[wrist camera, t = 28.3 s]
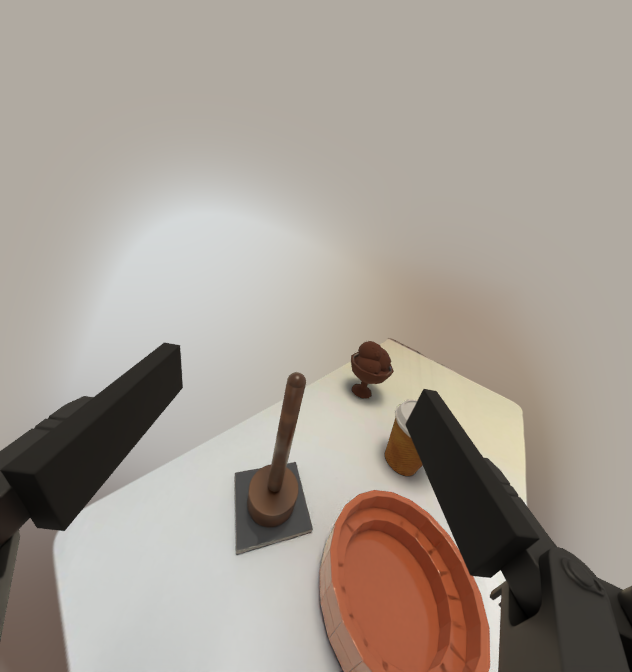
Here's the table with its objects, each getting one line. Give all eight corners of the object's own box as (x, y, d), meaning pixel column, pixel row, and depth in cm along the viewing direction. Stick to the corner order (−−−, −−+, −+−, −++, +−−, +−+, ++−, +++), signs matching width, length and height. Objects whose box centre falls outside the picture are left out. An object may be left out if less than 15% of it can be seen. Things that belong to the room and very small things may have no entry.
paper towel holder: (248, 534, 30) (269, 400, 20) (245, 480, 35) (260, 355, 25) (300, 520, 32) (341, 395, 22) (289, 472, 38) (318, 355, 28)
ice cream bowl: (360, 410, 56) (380, 359, 49) (334, 382, 64) (348, 335, 57) (389, 401, 61) (410, 353, 55) (362, 376, 70) (378, 332, 63)
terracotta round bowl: (357, 780, 18) (384, 777, 15) (302, 532, 32) (311, 506, 29) (492, 673, 24) (529, 656, 21) (397, 503, 38) (413, 480, 35)
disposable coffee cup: (431, 491, 41) (463, 446, 36) (379, 477, 41) (403, 430, 36) (418, 446, 50) (442, 405, 44) (374, 434, 50) (394, 392, 45)
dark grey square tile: (236, 554, 28) (236, 552, 28) (234, 475, 37) (234, 472, 36) (311, 532, 32) (312, 529, 32) (295, 464, 40) (295, 461, 40)
